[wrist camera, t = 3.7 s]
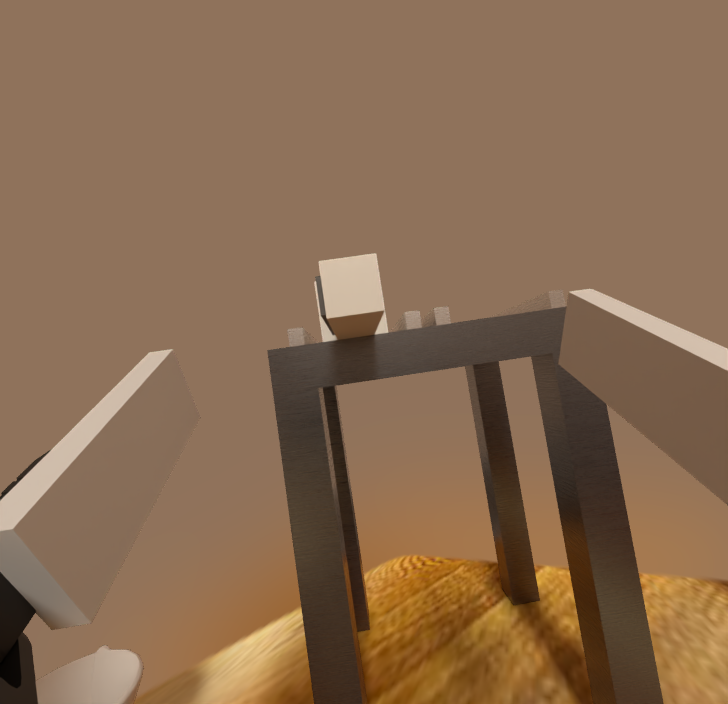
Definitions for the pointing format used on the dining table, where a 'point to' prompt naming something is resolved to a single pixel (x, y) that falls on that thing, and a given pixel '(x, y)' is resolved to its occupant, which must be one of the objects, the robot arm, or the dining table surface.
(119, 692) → the cup
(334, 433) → the rail stand
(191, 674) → the dining table surface
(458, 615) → the dining table surface
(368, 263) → the bar
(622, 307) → the robot arm
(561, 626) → the dining table surface
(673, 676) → the dining table surface
